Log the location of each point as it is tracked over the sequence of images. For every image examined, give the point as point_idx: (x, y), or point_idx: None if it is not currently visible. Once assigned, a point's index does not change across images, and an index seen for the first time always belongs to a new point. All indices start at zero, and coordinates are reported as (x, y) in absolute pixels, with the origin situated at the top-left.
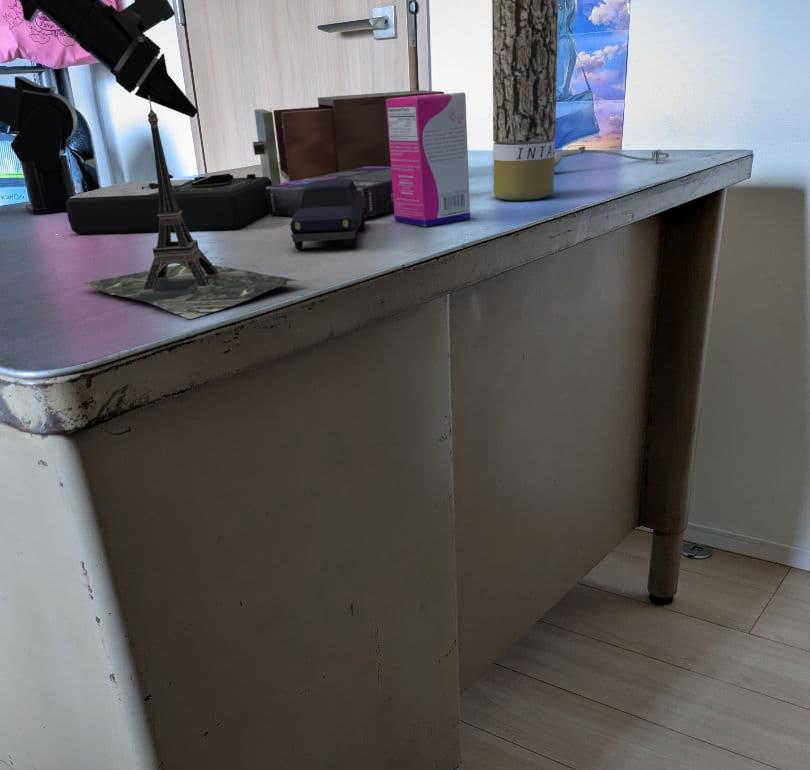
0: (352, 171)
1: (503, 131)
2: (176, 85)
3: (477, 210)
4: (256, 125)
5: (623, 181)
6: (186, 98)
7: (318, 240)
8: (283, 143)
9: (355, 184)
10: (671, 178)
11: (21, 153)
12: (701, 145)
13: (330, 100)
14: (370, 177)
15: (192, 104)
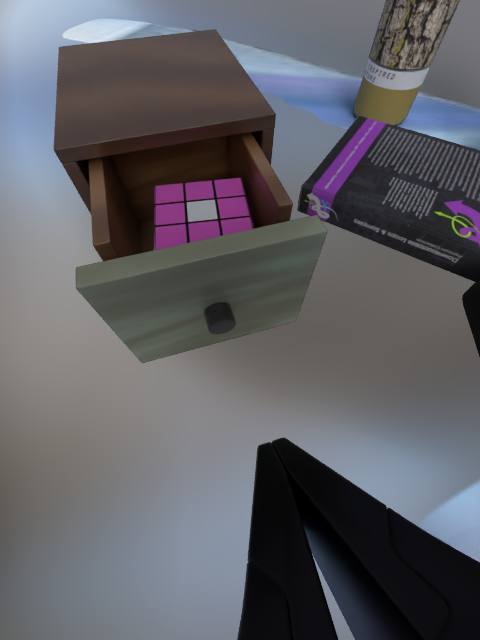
0: (386, 192)
1: (434, 52)
2: (413, 526)
3: (449, 139)
4: (104, 310)
5: (298, 74)
6: (330, 473)
7: None
8: None
9: None
10: (292, 58)
11: None
12: (90, 31)
13: (242, 121)
14: (467, 171)
15: (302, 450)
